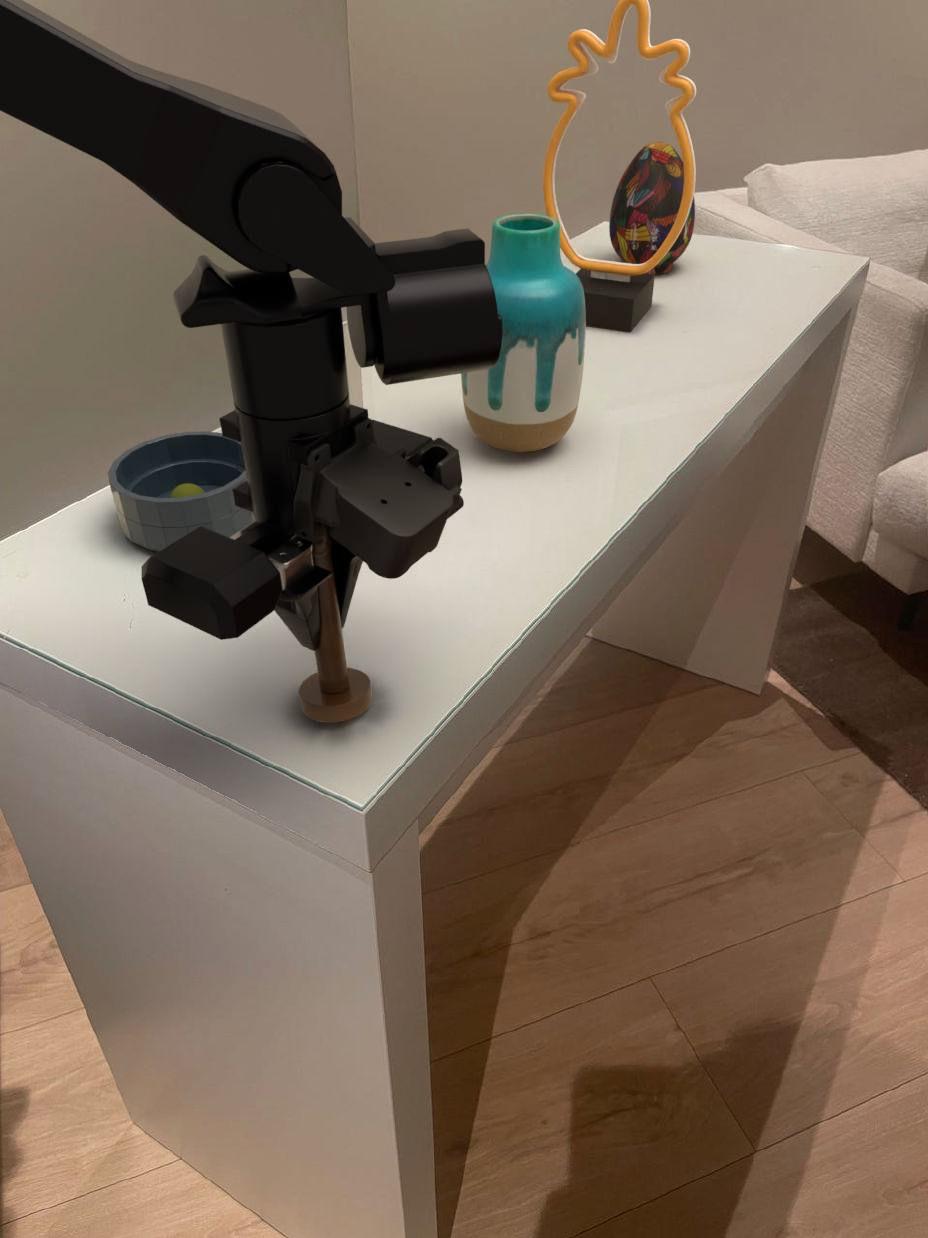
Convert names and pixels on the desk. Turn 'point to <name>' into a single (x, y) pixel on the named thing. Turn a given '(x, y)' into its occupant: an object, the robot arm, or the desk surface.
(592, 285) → the lamp
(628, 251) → the egg
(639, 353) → the desk surface
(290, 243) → the robot arm
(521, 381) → the vase
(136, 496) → the bowl
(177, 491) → the olive ball
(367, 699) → the stirring stick
